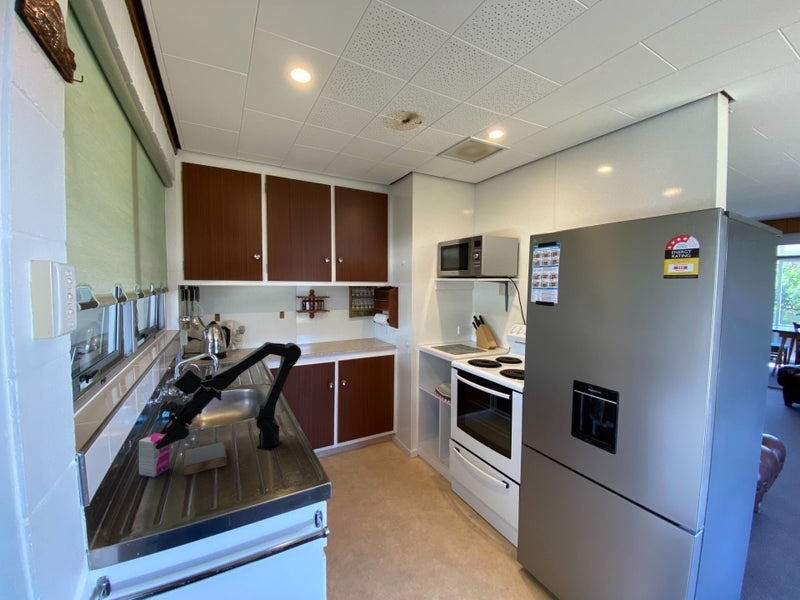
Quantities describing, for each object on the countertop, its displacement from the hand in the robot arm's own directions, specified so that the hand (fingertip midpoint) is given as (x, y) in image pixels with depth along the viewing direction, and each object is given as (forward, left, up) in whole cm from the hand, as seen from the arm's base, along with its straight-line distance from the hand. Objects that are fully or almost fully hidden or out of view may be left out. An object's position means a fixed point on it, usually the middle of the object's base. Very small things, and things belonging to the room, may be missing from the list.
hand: (157, 442), depth 106 cm
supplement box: (+1, +1, -10) cm, 10 cm away
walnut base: (-9, -9, -9) cm, 16 cm away
